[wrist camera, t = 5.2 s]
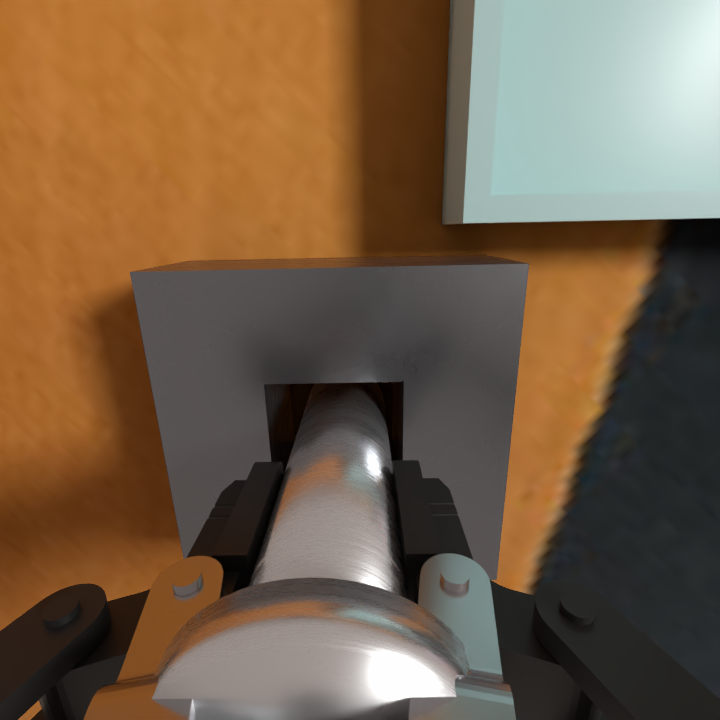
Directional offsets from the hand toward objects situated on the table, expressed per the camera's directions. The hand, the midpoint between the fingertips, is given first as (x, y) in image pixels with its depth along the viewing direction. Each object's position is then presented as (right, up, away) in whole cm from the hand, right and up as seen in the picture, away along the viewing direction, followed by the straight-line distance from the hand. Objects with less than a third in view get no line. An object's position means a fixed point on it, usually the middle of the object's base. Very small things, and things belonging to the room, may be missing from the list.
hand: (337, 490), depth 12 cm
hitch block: (0, +2, +7) cm, 7 cm away
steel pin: (0, +2, +6) cm, 6 cm away
